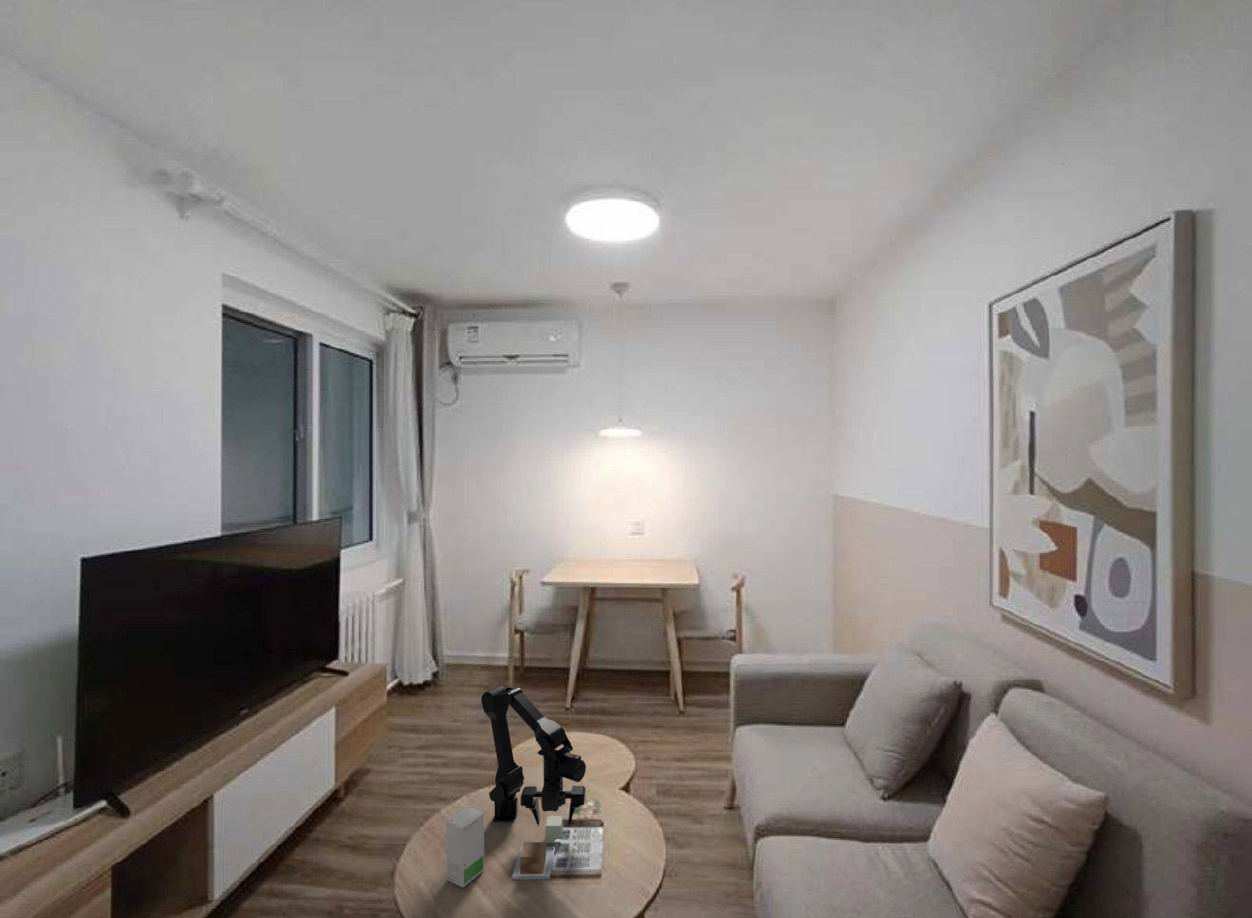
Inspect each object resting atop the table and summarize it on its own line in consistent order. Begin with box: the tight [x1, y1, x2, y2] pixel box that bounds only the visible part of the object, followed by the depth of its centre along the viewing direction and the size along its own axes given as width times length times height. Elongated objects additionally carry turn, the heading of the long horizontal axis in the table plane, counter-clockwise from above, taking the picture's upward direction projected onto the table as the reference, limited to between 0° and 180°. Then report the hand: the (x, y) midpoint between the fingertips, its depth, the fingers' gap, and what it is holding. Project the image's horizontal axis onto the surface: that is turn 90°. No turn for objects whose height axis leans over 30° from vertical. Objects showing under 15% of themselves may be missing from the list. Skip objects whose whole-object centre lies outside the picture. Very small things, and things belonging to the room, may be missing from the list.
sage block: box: [544, 815, 564, 844], centre depth 168 cm, size 5×5×5 cm
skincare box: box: [445, 806, 485, 888], centre depth 153 cm, size 8×7×16 cm
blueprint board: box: [511, 846, 554, 881], centre depth 157 cm, size 10×12×1 cm
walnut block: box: [520, 841, 547, 874], centre depth 155 cm, size 6×6×4 cm
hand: (553, 824), depth 168 cm, fingers open, 9 cm apart
